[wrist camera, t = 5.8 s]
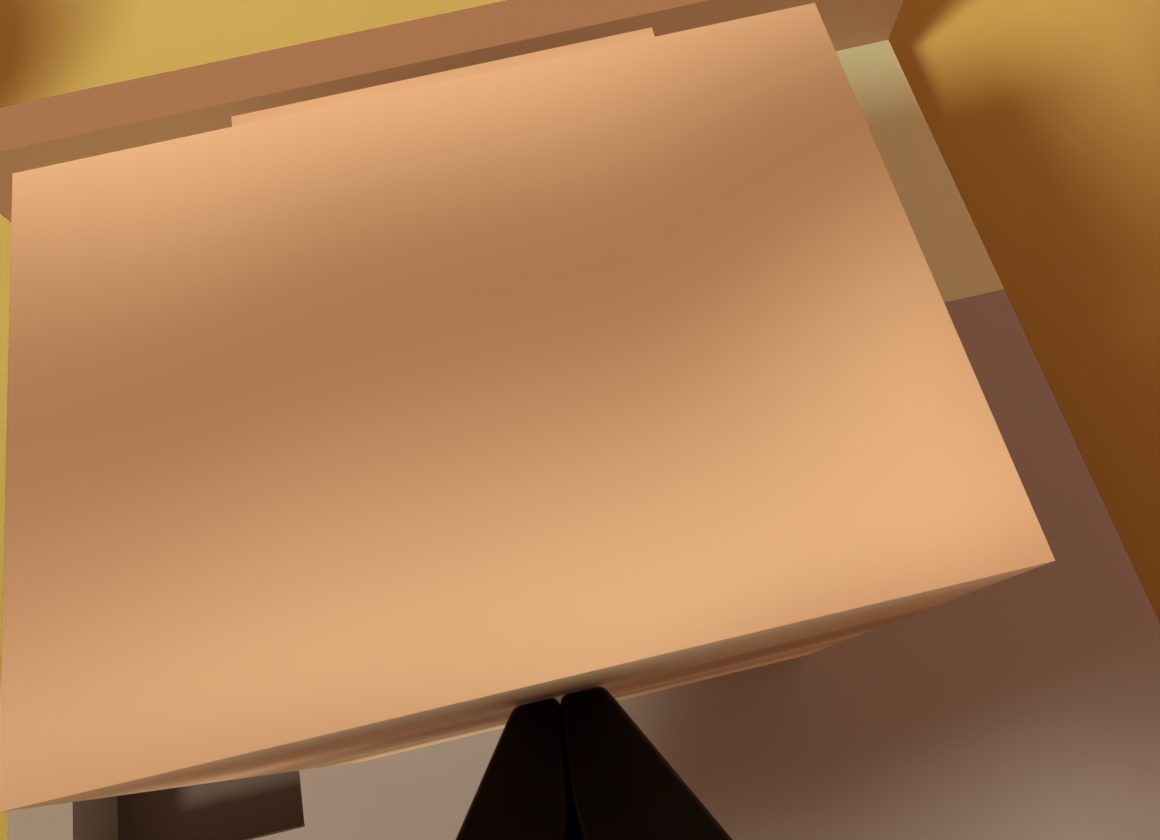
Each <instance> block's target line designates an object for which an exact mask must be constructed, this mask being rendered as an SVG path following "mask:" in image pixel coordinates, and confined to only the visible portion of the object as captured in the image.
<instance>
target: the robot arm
mask: <svg viewBox="0 0 1160 840" xmlns="http://www.w3.org/2000/svg"><path fill="white" fill-rule="evenodd" d="M456 840H733V839H732V838H731V837H730V836H729V834H728V833H727V832H726V831H725V830H724V828H723V827H722V826H721V825H720V824H719V822H718V821H717V820H716V819H715V818H714V816H713V815H712V814H711V813H710V812H709V810H708V809H707V808H706V807H705V806H704V804H703V803H702V802H701V801H700V800H699V798H698V797H697V796H696V795H695V794H694V792H693V791H692V790H691V789H690V788H689V787H688V785H687V784H686V783H685V782H684V781H683V779H682V778H681V777H680V776H679V775H678V773H677V772H676V771H675V770H674V769H673V767H672V766H671V765H670V764H669V763H668V761H667V760H666V759H665V758H664V757H663V755H662V754H661V753H660V752H659V751H658V749H657V748H656V747H655V746H654V745H653V744H652V742H651V741H650V740H649V739H648V738H647V736H646V735H645V734H644V733H643V732H642V730H641V729H640V728H639V727H638V726H637V724H636V723H635V722H634V721H633V720H632V718H631V717H630V716H629V715H628V714H627V712H626V711H625V710H624V709H623V708H622V706H621V705H620V704H619V703H618V702H617V701H616V699H615V698H614V697H613V696H612V695H611V693H610V692H609V691H608V690H607V689H605V688H604V687H600V686H598V687H593V688H589V689H585V690H581V691H577V692H572V693H568V694H566V695H564V696H563V697H562V699H561V702H560V703H559V701H558V700H557V699H555V698H547V699H543V700H539V701H535V702H531V703H527V704H522V705H519V706H517V707H515V708H514V709H513V710H512V712H511V714H510V716H509V718H508V720H507V723H506V725H505V727H504V729H503V732H502V734H501V736H500V739H499V741H498V743H497V745H496V748H495V750H494V752H493V755H492V757H491V759H490V762H489V764H488V766H487V768H486V771H485V773H484V775H483V778H482V780H481V782H480V784H479V787H478V789H477V791H476V794H475V796H474V798H473V801H472V803H471V805H470V807H469V810H468V812H467V814H466V817H465V819H464V821H463V823H462V826H461V828H460V830H459V833H458V835H457V837H456Z"/></svg>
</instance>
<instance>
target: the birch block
mask: <svg viewBox="0 0 1160 840" xmlns="http://www.w3.org/2000/svg"><path fill="white" fill-rule="evenodd" d="M231 119H232V127H229V128H224V129H219V130H215V131H210V132H205V133H200V134H196V135H191V136H186V137H182V138H177V139H172V140H168V141H163V142H158V143H153V144H149V145H144V146H139V147H135V148H130V149H125V150H121V151H116V152H111V153H106V154H102V155H97V156H92V157H88V158H83V159H78V160H74V161H69V162H64V163H59V164H55V165H50V166H45V167H41V168H36V169H31V170H27V171H22V172H17V173H12V216H11V260H10V304H9V347H8V391H7V435H6V478H5V522H4V566H3V609H2V653H1V697H0V812H5V811H12V810H19V809H27V808H34V807H41V806H48V805H55V804H62V803H70V802H77V801H84V800H91V799H98V798H105V797H113V796H120V795H127V794H134V793H141V792H148V791H156V790H163V789H170V788H177V787H184V786H191V785H198V784H206V783H213V782H220V781H227V780H234V779H241V778H249V777H256V776H263V775H270V774H277V773H284V772H292V771H299V770H306V769H313V768H320V767H327V766H335V765H342V764H349V763H356V762H363V761H368V760H372V759H376V758H381V757H385V756H389V755H393V754H397V753H402V752H406V751H410V750H414V749H418V748H422V747H427V746H431V745H435V744H439V743H443V742H447V741H452V740H456V739H460V738H464V737H468V736H472V735H477V734H481V733H485V732H489V731H493V730H498V729H502V728H504V727H505V725H506V723H507V720H508V718H509V716H510V714H511V712H512V710H513V709H514V708H515V707H517V706H519V705H522V704H527V703H531V702H535V701H539V700H543V699H547V698H555V699H557V700H558V701H559V703H560V702H561V699H562V697H563V696H564V695H566V694H568V693H572V692H577V691H581V690H585V689H589V688H593V687H598V686H600V687H604V688H605V689H607V690H608V691H609V692H610V693H611V695H612V696H613V697H614V698H615V699H616V701H619V700H623V699H627V698H631V697H635V696H639V695H644V694H648V693H652V692H656V691H660V690H665V689H669V688H673V687H677V686H681V685H685V684H690V683H694V682H698V681H702V680H706V679H710V678H715V677H719V676H723V675H727V674H731V673H735V672H740V671H744V670H748V669H752V668H756V667H761V666H765V665H769V664H773V663H777V662H781V661H786V660H790V659H794V658H798V657H802V656H806V655H808V654H811V653H814V652H816V651H819V650H822V649H824V648H827V647H829V646H832V645H835V644H837V643H840V642H843V641H845V640H848V639H851V638H853V637H856V636H858V635H861V634H864V633H866V632H869V631H872V630H874V629H877V628H879V627H882V626H885V625H887V624H890V623H893V622H895V621H898V620H901V619H903V618H906V617H908V616H911V615H914V614H916V613H919V612H922V611H924V610H927V609H930V608H932V607H935V606H937V605H940V604H943V603H945V602H948V601H951V600H953V599H956V598H958V597H961V596H964V595H966V594H969V593H972V592H974V591H977V590H980V589H982V588H985V587H987V586H990V585H993V584H995V583H998V582H1001V581H1003V580H1006V579H1009V578H1011V577H1014V576H1016V575H1019V574H1022V573H1024V572H1027V571H1030V570H1032V569H1035V568H1037V567H1040V566H1043V565H1045V564H1048V563H1051V562H1053V561H1055V559H1054V556H1053V554H1052V552H1051V549H1050V547H1049V545H1048V542H1047V540H1046V538H1045V535H1044V533H1043V531H1042V529H1041V526H1040V524H1039V522H1038V519H1037V517H1036V515H1035V512H1034V510H1033V508H1032V505H1031V503H1030V501H1029V498H1028V496H1027V494H1026V491H1025V489H1024V487H1023V484H1022V482H1021V480H1020V477H1019V475H1018V473H1017V471H1016V468H1015V466H1014V464H1013V461H1012V459H1011V457H1010V454H1009V452H1008V450H1007V447H1006V445H1005V443H1004V440H1003V438H1002V436H1001V433H1000V431H999V429H998V426H997V424H996V422H995V420H994V417H993V415H992V413H991V410H990V408H989V406H988V403H987V401H986V399H985V396H984V394H983V392H982V389H981V387H980V385H979V382H978V380H977V378H976V375H975V373H974V371H973V369H972V366H971V364H970V362H969V359H968V357H967V355H966V352H965V350H964V348H963V345H962V343H961V341H960V338H959V336H958V334H957V331H956V329H955V327H954V324H953V322H952V320H951V318H950V315H949V313H948V311H947V308H946V306H945V304H944V301H943V299H942V297H941V294H940V292H939V290H938V287H937V285H936V283H935V280H934V278H933V276H932V273H931V271H930V269H929V266H928V264H927V262H926V260H925V257H924V255H923V253H922V250H921V248H920V246H919V243H918V241H917V239H916V236H915V234H914V232H913V229H912V227H911V225H910V222H909V220H908V218H907V215H906V213H905V211H904V209H903V206H902V204H901V202H900V199H899V197H898V195H897V192H896V190H895V188H894V185H893V183H892V181H891V178H890V176H889V174H888V171H887V169H886V167H885V164H884V162H883V160H882V158H881V155H880V153H879V151H878V148H877V146H876V144H875V141H874V139H873V137H872V134H871V132H870V130H869V127H868V125H867V123H866V120H865V118H864V116H863V113H862V111H861V109H860V107H859V104H858V102H857V100H856V97H855V95H854V93H853V90H852V88H851V86H850V83H849V81H848V79H847V76H846V74H845V72H844V69H843V67H842V65H841V62H840V60H839V58H838V55H837V53H836V51H835V49H834V46H833V44H832V42H831V39H830V37H829V35H828V32H827V30H826V28H825V25H824V23H823V21H822V18H821V16H820V14H819V11H818V9H817V7H816V4H815V3H811V4H806V5H802V6H797V7H792V8H788V9H783V10H778V11H774V12H769V13H764V14H759V15H755V16H750V17H745V18H741V19H736V20H731V21H727V22H722V23H717V24H713V25H708V26H703V27H698V28H694V29H689V30H684V31H680V32H675V33H670V34H666V35H661V36H656V37H655V35H654V32H653V29H652V27H651V28H646V29H641V30H637V31H632V32H627V33H623V34H618V35H613V36H608V37H604V38H599V39H594V40H590V41H585V42H580V43H575V44H571V45H566V46H561V47H557V48H552V49H547V50H543V51H538V52H533V53H528V54H524V55H519V56H514V57H510V58H505V59H500V60H495V61H491V62H486V63H481V64H477V65H472V66H467V67H463V68H458V69H453V70H448V71H444V72H439V73H434V74H430V75H425V76H420V77H415V78H411V79H406V80H401V81H397V82H392V83H387V84H383V85H378V86H373V87H368V88H364V89H359V90H354V91H350V92H345V93H340V94H335V95H331V96H326V97H321V98H317V99H312V100H307V101H302V102H298V103H293V104H288V105H284V106H279V107H274V108H270V109H265V110H260V111H255V112H251V113H246V114H241V115H237V116H232V117H231Z"/></svg>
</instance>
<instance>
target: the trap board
mask: <svg viewBox="0 0 1160 840" xmlns="http://www.w3.org/2000/svg"><path fill="white" fill-rule="evenodd" d="M944 304H945V306H946V308H947V311H948V313H949V315H950V318H951V320H952V322H953V324H954V327H955V329H956V331H957V334H958V336H959V338H960V341H961V343H962V345H963V348H964V350H965V352H966V355H967V357H968V359H969V362H970V364H971V366H972V369H973V371H974V373H975V375H976V378H977V380H978V382H979V385H980V387H981V389H982V392H983V394H984V396H985V399H986V401H987V403H988V406H989V408H990V410H991V413H992V415H993V417H994V420H995V422H996V424H997V426H998V429H999V431H1000V433H1001V436H1002V438H1003V440H1004V443H1005V445H1006V447H1007V450H1008V452H1009V454H1010V457H1011V459H1012V461H1013V464H1014V466H1015V468H1016V471H1017V473H1018V475H1019V477H1020V480H1021V482H1022V484H1023V487H1024V489H1025V491H1026V494H1027V496H1028V498H1029V501H1030V503H1031V505H1032V508H1033V510H1034V512H1035V515H1036V517H1037V519H1038V522H1039V524H1040V526H1041V529H1042V531H1043V533H1044V535H1045V538H1046V540H1047V542H1048V545H1049V547H1050V549H1051V552H1052V554H1053V556H1054V559H1055V561H1053V562H1051V563H1048V564H1045V565H1043V566H1040V567H1037V568H1035V569H1032V570H1030V571H1027V572H1024V573H1022V574H1019V575H1016V576H1014V577H1011V578H1009V579H1006V580H1003V581H1001V582H998V583H995V584H993V585H990V586H987V587H985V588H982V589H980V590H977V591H974V592H972V593H969V594H966V595H964V596H961V597H958V598H956V599H953V600H951V601H948V602H945V603H943V604H940V605H937V606H935V607H932V608H930V609H927V610H924V611H922V612H919V613H916V614H914V615H911V616H908V617H906V618H903V619H901V620H898V621H895V622H893V623H890V624H887V625H885V626H882V627H879V628H877V629H874V630H872V631H869V632H866V633H864V634H861V635H858V636H856V637H853V638H851V639H848V640H845V641H843V642H840V643H837V644H835V645H832V646H829V647H827V648H824V649H822V650H819V651H816V652H814V653H811V654H808V655H806V656H802V657H798V658H794V659H790V660H786V661H781V662H777V663H773V664H769V665H765V666H761V667H756V668H752V669H748V670H744V671H740V672H735V673H731V674H727V675H723V676H719V677H715V678H710V679H706V680H702V681H698V682H694V683H690V684H685V685H681V686H677V687H673V688H669V689H665V690H660V691H656V692H652V693H648V694H644V695H639V696H635V697H631V698H627V699H623V700H619V701H617V702H618V703H619V704H620V705H621V706H622V708H623V709H624V710H625V711H626V712H627V714H628V715H629V716H630V717H631V718H632V720H633V721H634V722H635V723H636V724H637V726H638V727H639V728H640V729H641V730H642V732H643V733H644V734H645V735H646V736H647V738H648V739H649V740H650V741H651V742H652V744H653V745H654V746H655V747H656V748H657V749H658V751H659V752H660V753H661V754H662V755H663V757H664V758H665V759H666V760H667V761H668V763H669V764H670V765H671V766H672V767H673V769H674V770H675V771H676V772H677V773H678V775H679V776H680V777H681V778H682V779H683V781H684V782H685V783H686V784H687V785H688V787H689V788H690V789H691V790H692V791H693V792H694V794H695V795H696V796H697V797H698V798H699V800H700V801H701V802H702V803H703V804H704V806H705V807H706V808H707V809H708V810H709V812H710V813H711V814H712V815H713V816H714V818H715V819H716V820H717V821H718V822H719V824H720V825H721V826H722V827H723V828H724V830H725V831H726V832H727V833H728V834H729V836H730V837H731V838H732V839H733V840H1160V622H1159V620H1158V618H1157V615H1156V613H1155V611H1154V609H1153V607H1152V605H1151V603H1150V600H1149V598H1148V596H1147V594H1146V592H1145V590H1144V588H1143V585H1142V583H1141V581H1140V579H1139V577H1138V575H1137V572H1136V570H1135V568H1134V566H1133V564H1132V562H1131V560H1130V557H1129V555H1128V553H1127V551H1126V549H1125V547H1124V545H1123V542H1122V540H1121V538H1120V536H1119V534H1118V532H1117V530H1116V527H1115V525H1114V523H1113V521H1112V519H1111V517H1110V514H1109V512H1108V510H1107V508H1106V506H1105V504H1104V502H1103V499H1102V497H1101V495H1100V493H1099V491H1098V489H1097V487H1096V484H1095V482H1094V480H1093V478H1092V476H1091V474H1090V472H1089V469H1088V467H1087V465H1086V463H1085V461H1084V459H1083V456H1082V454H1081V452H1080V450H1079V448H1078V446H1077V444H1076V441H1075V439H1074V437H1073V435H1072V433H1071V431H1070V429H1069V426H1068V424H1067V422H1066V420H1065V418H1064V416H1063V414H1062V411H1061V409H1060V407H1059V405H1058V403H1057V401H1056V398H1055V396H1054V394H1053V392H1052V390H1051V388H1050V386H1049V383H1048V381H1047V379H1046V377H1045V375H1044V373H1043V371H1042V368H1041V366H1040V364H1039V362H1038V360H1037V358H1036V356H1035V353H1034V351H1033V349H1032V347H1031V345H1030V343H1029V340H1028V338H1027V336H1026V334H1025V332H1024V330H1023V328H1022V325H1021V323H1020V321H1019V319H1018V317H1017V315H1016V313H1015V310H1014V308H1013V306H1012V304H1011V302H1010V300H1009V297H1008V295H1007V293H1006V291H1005V289H1004V290H999V291H995V292H990V293H986V294H982V295H977V296H973V297H969V298H964V299H960V300H955V301H951V302H947V303H944ZM503 729H504V728H502V729H498V730H493V731H489V732H485V733H481V734H477V735H472V736H468V737H464V738H460V739H456V740H452V741H447V742H443V743H439V744H435V745H431V746H427V747H422V748H418V749H414V750H410V751H406V752H402V753H397V754H393V755H389V756H385V757H381V758H376V759H372V760H368V761H363V762H356V763H349V764H342V765H335V766H327V767H320V768H313V769H306V770H299V771H292V772H284V773H277V774H270V775H263V776H256V777H249V778H241V779H234V780H227V781H220V782H213V783H206V784H198V785H191V786H184V787H177V788H170V789H163V790H156V791H148V792H141V793H134V794H127V795H120V796H113V797H105V798H98V799H91V800H84V801H77V802H70V803H62V804H55V805H48V806H41V807H34V808H27V809H19V810H12V811H8V832H7V840H456V837H457V835H458V833H459V830H460V828H461V826H462V823H463V821H464V819H465V817H466V814H467V812H468V810H469V807H470V805H471V803H472V801H473V798H474V796H475V794H476V791H477V789H478V787H479V784H480V782H481V780H482V778H483V775H484V773H485V771H486V768H487V766H488V764H489V762H490V759H491V757H492V755H493V752H494V750H495V748H496V745H497V743H498V741H499V739H500V736H501V734H502V732H503Z"/></svg>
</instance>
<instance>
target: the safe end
mask: <svg viewBox="0 0 1160 840" xmlns="http://www.w3.org/2000/svg"><path fill="white" fill-rule="evenodd" d="M903 1H904V0H507V1H502V2H497V3H493V4H488V5H483V6H478V7H474V8H469V9H464V10H459V11H455V12H450V13H445V14H441V15H436V16H431V17H426V18H422V19H417V20H412V21H407V22H403V23H398V24H393V25H388V26H384V27H379V28H374V29H369V30H365V31H360V32H355V33H351V34H346V35H341V36H336V37H332V38H327V39H322V40H317V41H313V42H308V43H303V44H298V45H294V46H289V47H284V48H280V49H275V50H270V51H265V52H261V53H256V54H251V55H246V56H242V57H237V58H232V59H227V60H223V61H218V62H213V63H209V64H204V65H199V66H194V67H190V68H185V69H180V70H175V71H171V72H166V73H161V74H156V75H152V76H147V77H142V78H138V79H133V80H128V81H123V82H119V83H114V84H109V85H104V86H100V87H95V88H90V89H85V90H81V91H76V92H71V93H66V94H62V95H57V96H52V97H48V98H43V99H38V100H33V101H29V102H24V103H19V104H14V105H10V106H5V107H0V213H1V214H2V215H3V216H4V217H5V218H7V219H8V220H9V221H10V222H11V216H12V173H17V172H22V171H27V170H31V169H36V168H41V167H45V166H50V165H55V164H59V163H64V162H69V161H74V160H78V159H83V158H88V157H92V156H97V155H102V154H106V153H111V152H116V151H121V150H125V149H130V148H135V147H139V146H144V145H149V144H153V143H158V142H163V141H168V140H172V139H177V138H182V137H186V136H191V135H196V134H200V133H205V132H210V131H215V130H219V129H224V128H229V127H232V119H231V117H232V116H237V115H241V114H246V113H251V112H255V111H260V110H265V109H270V108H274V107H279V106H284V105H288V104H293V103H298V102H302V101H307V100H312V99H317V98H321V97H326V96H331V95H335V94H340V93H345V92H350V91H354V90H359V89H364V88H368V87H373V86H378V85H383V84H387V83H392V82H397V81H401V80H406V79H411V78H415V77H420V76H425V75H430V74H434V73H439V72H444V71H448V70H453V69H458V68H463V67H467V66H472V65H477V64H481V63H486V62H491V61H495V60H500V59H505V58H510V57H514V56H519V55H524V54H528V53H533V52H538V51H543V50H547V49H552V48H557V47H561V46H566V45H571V44H575V43H580V42H585V41H590V40H594V39H599V38H604V37H608V36H613V35H618V34H623V33H627V32H632V31H637V30H641V29H646V28H651V27H652V29H653V32H654V35H655V37H656V36H661V35H666V34H670V33H675V32H680V31H684V30H689V29H694V28H698V27H703V26H708V25H713V24H717V23H722V22H727V21H731V20H736V19H741V18H745V17H750V16H755V15H759V14H764V13H769V12H774V11H778V10H783V9H788V8H792V7H797V6H802V5H806V4H811V3H815V4H816V7H817V9H818V11H819V14H820V16H821V18H822V21H823V23H824V25H825V28H826V30H827V32H828V35H829V37H830V39H831V42H832V44H833V46H834V49H835V51H836V53H837V55H838V58H839V60H840V62H841V65H842V67H843V69H844V72H845V74H846V76H847V79H848V81H849V83H850V86H851V88H852V90H853V93H854V95H855V97H856V100H857V102H858V104H859V107H860V109H861V111H862V113H863V116H864V118H865V120H866V123H867V125H868V127H869V130H870V132H871V134H872V137H873V139H874V141H875V144H876V146H877V148H878V151H879V153H880V155H881V158H882V160H883V162H884V164H885V167H886V169H887V171H888V174H889V176H890V178H891V181H892V183H893V185H894V188H895V190H896V192H897V195H898V197H899V199H900V202H901V204H902V206H903V209H904V211H905V213H906V215H907V218H908V220H909V222H910V225H911V227H912V229H913V232H914V234H915V236H916V239H917V241H918V243H919V246H920V248H921V250H922V253H923V255H924V257H925V260H926V262H927V264H928V266H929V269H930V271H931V273H932V276H933V278H934V280H935V283H936V285H937V287H938V290H939V292H940V294H941V297H942V299H943V301H944V303H947V302H951V301H955V300H960V299H964V298H969V297H973V296H977V295H982V294H986V293H990V292H995V291H999V290H1004V287H1003V285H1002V283H1001V281H1000V279H999V276H998V274H997V272H996V270H995V268H994V266H993V263H992V261H991V259H990V257H989V255H988V253H987V251H986V248H985V246H984V244H983V242H982V240H981V238H980V236H979V233H978V231H977V229H976V227H975V225H974V223H973V221H972V218H971V216H970V214H969V212H968V210H967V208H966V205H965V203H964V201H963V199H962V197H961V195H960V193H959V190H958V188H957V186H956V184H955V182H954V180H953V178H952V175H951V173H950V171H949V169H948V167H947V165H946V162H945V160H944V158H943V156H942V154H941V152H940V150H939V147H938V145H937V143H936V141H935V139H934V137H933V135H932V132H931V130H930V128H929V126H928V124H927V122H926V120H925V117H924V115H923V113H922V111H921V109H920V107H919V104H918V102H917V100H916V98H915V96H914V94H913V92H912V89H911V87H910V85H909V83H908V81H907V79H906V77H905V74H904V72H903V70H902V68H901V66H900V64H899V61H898V59H897V57H896V55H895V53H894V51H893V49H892V46H891V44H890V42H889V40H888V39H889V37H890V34H891V32H892V29H893V27H894V24H895V21H896V19H897V16H898V14H899V11H900V9H901V6H902V3H903Z"/></svg>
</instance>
